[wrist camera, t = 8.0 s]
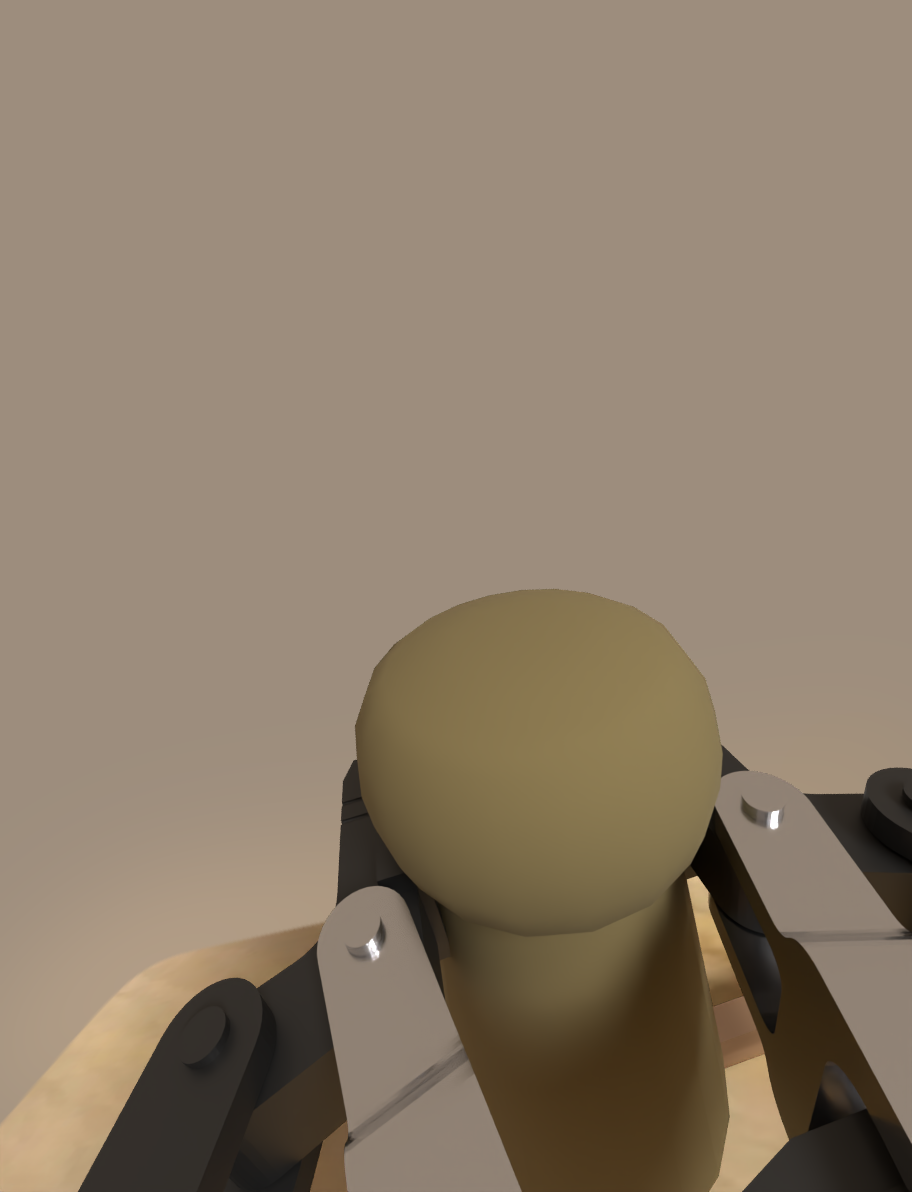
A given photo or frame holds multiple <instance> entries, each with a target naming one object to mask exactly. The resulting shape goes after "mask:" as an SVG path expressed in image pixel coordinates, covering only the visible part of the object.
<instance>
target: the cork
mask: <svg viewBox="0 0 912 1192" xmlns="http://www.w3.org/2000/svg"><path fill="white" fill-rule="evenodd" d="M355 732H356V749H357V750H356V751H357V762H358V771H359V779H360V788H361V796H362V799H363V801H364V804H365V806H366V809H367V811H368V813H369V816H370V818H371V821H372V823H373V826H374V827H375V829H376V831H377V832H378V834H379V835H380V837H381V838H382V840H383V842H384V843H385V845H386V846H387V848H388V850H389V851H390V853H391V854H392V856H393V857H394V859H395V861H396V862H397V864H398V865H399V867H400V868H401V869H402V870H403V871H404V873H405V874H406V875H407V876H408V877H409V878H410V879H411V880H412V881H413V882H414V883H415V884H416V885H417V886H418V888H419V889H421V890H422V891H423V892H425V893H426V894H428V895H429V896H430V897H432V898H433V899H435V900H436V901H438V904H439V908H440V911H441V915H442V919H443V922H444V926H445V930H446V933H447V937H448V941H449V946H450V956H451V957H448V958H445V959H442V960H440V965H441V973H442V980H443V987H444V994H445V1002H446V1005H447V1007H448V1010H449V1012H450V1015H451V1017H452V1020H453V1022H454V1025H455V1027H456V1030H457V1032H458V1035H459V1037H460V1040H461V1042H462V1045H463V1047H464V1049H465V1052H466V1054H467V1056H468V1059H469V1061H470V1064H471V1066H472V1069H473V1071H474V1074H475V1076H476V1079H477V1081H478V1083H479V1086H480V1088H481V1091H482V1093H483V1096H484V1099H485V1101H486V1104H487V1106H488V1109H489V1111H490V1114H491V1116H492V1119H493V1121H494V1124H495V1126H496V1129H497V1131H498V1134H499V1136H500V1139H501V1141H502V1144H503V1146H504V1149H505V1151H506V1154H507V1156H508V1159H509V1161H510V1164H511V1166H512V1169H513V1171H514V1174H515V1176H516V1179H517V1181H518V1184H519V1186H520V1189H521V1191H522V1192H709V1191H710V1189H711V1188H712V1186H713V1184H714V1183H715V1181H716V1179H717V1178H718V1176H719V1171H720V1166H721V1161H722V1155H723V1150H724V1144H725V1139H726V1133H727V1128H728V1123H729V1117H730V1115H729V1106H728V1097H727V1087H726V1078H725V1068H724V1059H723V1053H722V1048H721V1043H720V1039H719V1034H718V1029H717V1024H716V1019H715V1014H714V1010H713V1005H712V1000H711V995H710V990H709V986H708V981H707V976H706V971H705V966H704V961H703V957H702V952H701V947H700V942H699V937H698V932H697V928H696V923H695V918H694V913H693V908H692V903H691V899H690V894H689V889H688V884H687V879H686V876H685V869H686V868H687V867H688V866H689V865H690V864H691V862H692V860H693V858H694V856H695V855H696V853H697V851H698V849H699V847H700V845H701V843H702V841H703V839H704V837H705V834H706V831H707V828H708V825H709V821H710V818H711V815H712V812H713V809H714V806H715V803H716V800H717V797H718V794H719V791H720V784H721V771H722V757H723V753H722V747H721V742H720V736H719V731H718V725H717V720H716V715H715V710H714V706H713V703H712V700H711V696H710V693H709V690H708V686H707V683H706V680H705V678H704V676H703V675H702V674H701V672H700V671H699V670H698V668H697V667H696V666H695V665H694V663H693V662H692V661H691V659H690V658H689V657H688V655H687V654H686V653H685V652H684V650H683V649H682V648H681V646H680V645H679V644H678V643H677V642H676V640H675V639H674V638H673V636H672V635H671V634H670V633H669V631H668V630H667V629H666V628H665V626H664V625H663V624H661V623H659V622H658V621H656V620H655V619H653V618H651V617H649V616H648V615H646V614H645V613H643V612H641V611H640V610H638V609H636V608H635V607H632V606H629V605H626V604H622V603H619V602H616V601H613V600H610V599H606V598H603V597H600V596H597V595H593V594H590V593H585V592H576V591H568V590H559V589H542V590H519V591H514V592H507V593H501V594H495V595H490V596H486V597H482V598H479V599H476V600H473V601H469V602H466V603H463V604H460V605H457V606H455V607H453V608H451V609H449V610H447V611H444V612H442V613H440V614H438V615H436V616H434V617H432V618H430V619H428V620H427V621H426V622H424V623H423V624H422V625H420V626H419V627H417V628H416V629H415V630H413V631H412V632H411V633H409V634H408V635H407V636H405V637H404V638H402V639H401V640H400V641H398V642H397V643H396V644H394V645H393V647H392V648H391V649H390V650H389V651H388V653H387V654H386V655H385V656H384V657H383V659H382V660H381V661H380V662H379V663H378V665H377V666H376V667H375V668H374V671H373V674H372V677H371V680H370V682H369V685H368V688H367V691H366V694H365V697H364V700H363V703H362V706H361V709H360V712H359V716H358V719H357V722H356V725H355Z"/></svg>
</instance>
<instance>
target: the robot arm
mask: <svg viewBox="0 0 912 1192" xmlns="http://www.w3.org/2000/svg"><path fill="white" fill-rule="evenodd" d="M721 747H722V753H723V757H722V771H721V784H720V791H719V794H718V797H717V800H716V803H715V806H714V809H713V812H712V815H711V818H710V821H709V825H708V828H707V831H706V834H705V837H704V839H703V841H702V843H701V845H700V847H699V849H698V851H697V853H696V855H695V856H694V858H693V860H692V862H691V864H690V865H689V866H688V867H687V868H686V869H685V876H686V879H689V878H692V877H695V876H698V877H699V879H700V880H701V881H702V883H703V884H704V886H705V887H706V888H707V890H708V891H709V893H708V903H709V909H710V912H711V915H712V917H713V920H714V922H715V925H716V927H717V930H718V933H719V935H720V938H721V940H722V943H723V945H724V948H725V950H726V953H727V955H728V958H729V960H730V963H731V965H732V968H733V970H734V973H735V976H736V978H737V981H738V983H739V986H740V988H741V991H742V993H743V996H744V998H745V1001H746V1003H747V1006H748V1008H749V1011H750V1013H751V1016H752V1018H753V1021H754V1024H755V1026H756V1029H757V1031H758V1034H759V1037H760V1039H761V1042H762V1046H763V1049H764V1052H765V1056H766V1061H767V1066H768V1072H769V1077H770V1082H771V1086H772V1090H773V1094H774V1097H775V1101H776V1104H777V1107H778V1110H779V1113H780V1116H781V1119H782V1122H783V1125H784V1127H785V1130H786V1133H787V1135H788V1138H789V1141H788V1142H787V1143H786V1144H785V1145H784V1147H783V1148H782V1149H781V1150H780V1151H779V1152H778V1153H777V1154H776V1155H775V1156H774V1158H773V1159H772V1160H771V1161H770V1162H769V1163H768V1164H767V1165H766V1166H765V1167H764V1168H763V1170H762V1171H761V1172H760V1173H759V1174H758V1175H757V1176H756V1177H755V1178H754V1179H753V1180H752V1182H751V1183H750V1184H749V1185H748V1186H747V1187H746V1188H745V1189H744V1190H743V1191H742V1192H912V769H910V768H888V769H883V770H880V771H877V772H875V773H874V774H872V775H871V776H870V777H869V779H868V780H867V783H866V788H865V792H864V794H804V793H802V792H801V791H800V790H799V789H797V788H796V787H794V786H793V785H792V784H790V783H788V782H786V781H784V780H782V779H780V778H778V777H775V776H772V775H769V774H766V773H761V772H755V771H749V770H748V769H747V768H746V767H744V766H743V765H742V764H741V763H740V762H739V761H738V760H737V759H736V758H735V757H734V756H733V755H732V754H731V753H730V752H729V751H728V750H727V749H726V748H724V747H723V746H722V745H721ZM342 804H343V807H342V814H341V821H342V825H341V834H340V853H339V873H338V874H339V875H338V893H337V903H336V907H335V908H334V910H333V911H332V912H331V914H330V915H329V916H328V918H327V920H326V921H325V923H324V925H323V927H322V930H321V933H320V936H319V940H318V941H317V943H316V944H315V945H314V946H313V947H312V948H311V949H310V950H309V951H308V952H307V953H306V954H305V955H304V956H303V957H301V958H300V959H299V960H297V961H296V962H295V963H293V964H292V965H290V966H289V967H287V968H286V969H284V970H283V971H282V972H280V973H279V974H277V975H276V976H274V977H273V978H271V979H270V980H269V981H267V982H266V983H264V984H263V985H261V986H260V987H258V988H256V987H255V986H254V985H253V984H252V983H251V982H249V981H247V980H245V979H241V978H229V979H225V980H221V981H219V982H216V983H214V984H212V985H210V986H209V987H207V988H205V989H204V990H202V991H201V992H200V993H198V994H197V995H196V996H194V997H193V998H192V999H191V1000H190V1001H189V1002H188V1003H187V1004H186V1005H185V1006H184V1007H183V1008H182V1009H181V1010H180V1012H179V1013H178V1014H177V1015H176V1016H175V1018H174V1019H173V1020H172V1022H171V1023H170V1024H169V1026H168V1028H167V1029H166V1031H165V1033H164V1034H163V1036H162V1038H161V1040H160V1041H159V1043H158V1045H157V1047H156V1049H155V1051H154V1052H153V1054H152V1056H151V1058H150V1060H149V1062H148V1063H147V1065H146V1067H145V1069H144V1071H143V1073H142V1075H141V1076H140V1078H139V1080H138V1082H137V1084H136V1086H135V1087H134V1089H133V1091H132V1093H131V1095H130V1097H129V1099H128V1100H127V1102H126V1104H125V1106H124V1108H123V1110H122V1111H121V1113H120V1115H119V1117H118V1119H117V1121H116V1123H115V1124H114V1126H113V1128H112V1130H111V1132H110V1134H109V1135H108V1137H107V1139H106V1141H105V1143H104V1145H103V1147H102V1148H101V1150H100V1152H99V1154H98V1156H97V1158H96V1159H95V1161H94V1163H93V1165H92V1167H91V1169H90V1170H89V1172H88V1174H87V1176H86V1178H85V1180H84V1182H83V1183H82V1185H81V1187H80V1189H79V1191H78V1192H310V1188H311V1185H312V1181H313V1177H314V1173H315V1169H316V1165H317V1162H318V1158H319V1154H320V1150H321V1146H322V1142H323V1140H324V1139H326V1138H327V1137H328V1136H329V1135H330V1134H331V1133H333V1132H334V1131H335V1130H336V1129H337V1128H338V1127H339V1126H341V1125H342V1124H343V1123H344V1122H345V1121H346V1120H347V1123H348V1140H347V1142H346V1143H345V1148H344V1165H345V1176H346V1184H347V1191H348V1192H522V1191H521V1189H520V1186H519V1184H518V1181H517V1179H516V1176H515V1174H514V1171H513V1169H512V1166H511V1164H510V1161H509V1159H508V1156H507V1154H506V1151H505V1149H504V1146H503V1144H502V1141H501V1139H500V1136H499V1134H498V1131H497V1129H496V1126H495V1124H494V1121H493V1119H492V1116H491V1114H490V1111H489V1109H488V1106H487V1104H486V1101H485V1099H484V1096H483V1093H482V1091H481V1088H480V1086H479V1083H478V1081H477V1079H476V1076H475V1074H474V1071H473V1069H472V1066H471V1064H470V1061H469V1059H468V1056H467V1054H466V1052H465V1049H464V1047H463V1045H462V1042H461V1040H460V1037H459V1035H458V1032H457V1030H456V1027H455V1025H454V1022H453V1020H452V1017H451V1015H450V1012H449V1010H448V1007H447V1005H446V1002H445V994H444V987H443V980H442V973H441V965H440V960H442V959H445V958H448V957H451V956H450V946H449V941H448V937H447V933H446V930H445V926H444V922H443V919H442V915H441V911H440V908H439V904H438V901H436V900H435V899H433V898H432V897H430V896H429V895H428V894H426V893H425V892H423V891H422V890H421V889H419V888H418V886H417V885H416V884H415V883H414V882H413V881H412V880H411V879H410V878H409V877H408V876H407V875H406V874H405V873H404V871H403V870H402V869H401V868H400V867H399V865H398V864H397V862H396V861H395V859H394V857H393V856H392V854H391V853H390V851H389V850H388V848H387V846H386V845H385V843H384V842H383V840H382V838H381V837H380V835H379V834H378V832H377V831H376V829H375V827H374V826H373V823H372V821H371V818H370V816H369V813H368V811H367V809H366V806H365V804H364V801H363V799H362V796H361V788H360V779H359V771H358V762H357V760H354V761H353V763H352V765H351V767H350V769H349V771H348V773H347V775H346V777H345V779H344V781H343V793H342Z"/></svg>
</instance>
